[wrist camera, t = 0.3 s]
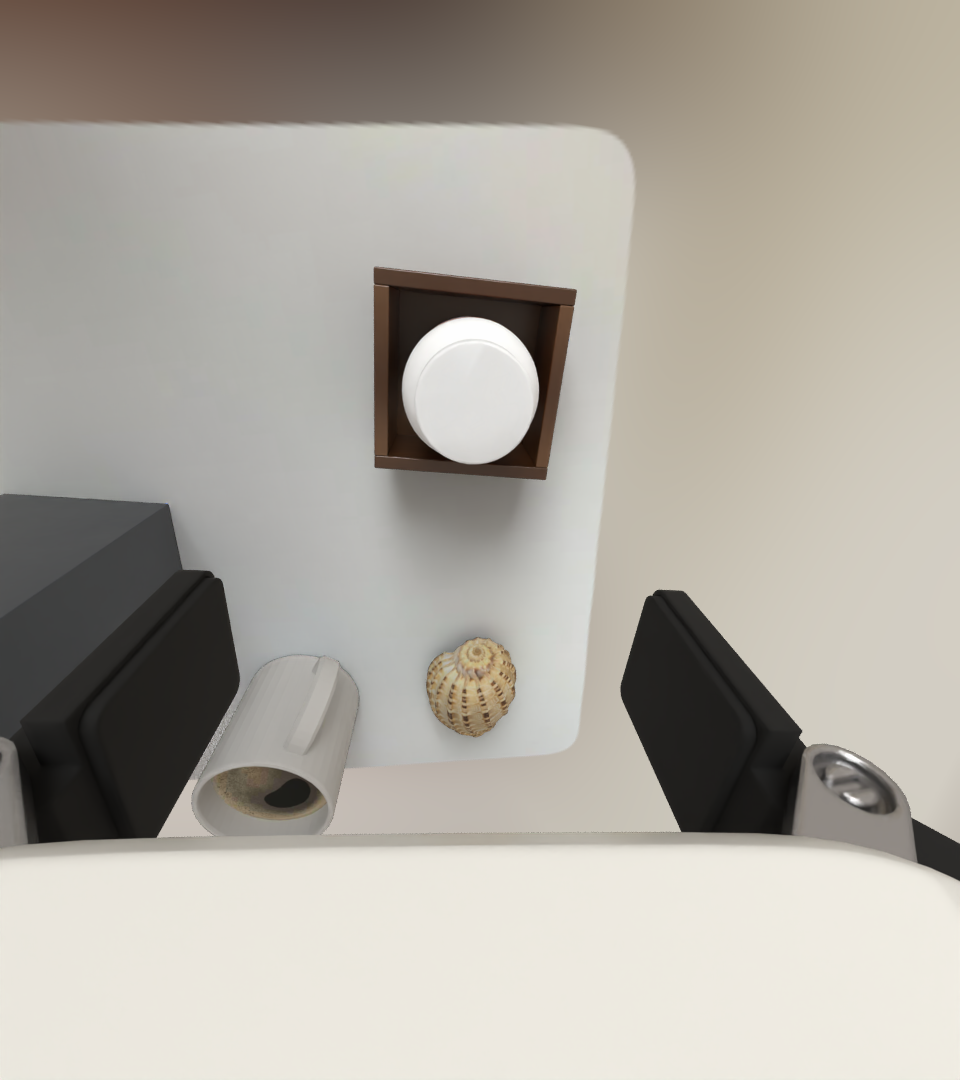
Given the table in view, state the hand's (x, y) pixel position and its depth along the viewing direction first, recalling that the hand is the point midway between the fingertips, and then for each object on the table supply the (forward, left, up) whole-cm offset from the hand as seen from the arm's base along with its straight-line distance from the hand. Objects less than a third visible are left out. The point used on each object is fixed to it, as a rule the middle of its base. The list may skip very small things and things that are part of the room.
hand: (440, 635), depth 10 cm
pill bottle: (-3, +1, -21) cm, 21 cm away
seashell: (+21, +4, -22) cm, 30 cm away
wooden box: (-3, +1, -21) cm, 22 cm away
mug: (+23, -9, -22) cm, 33 cm away
